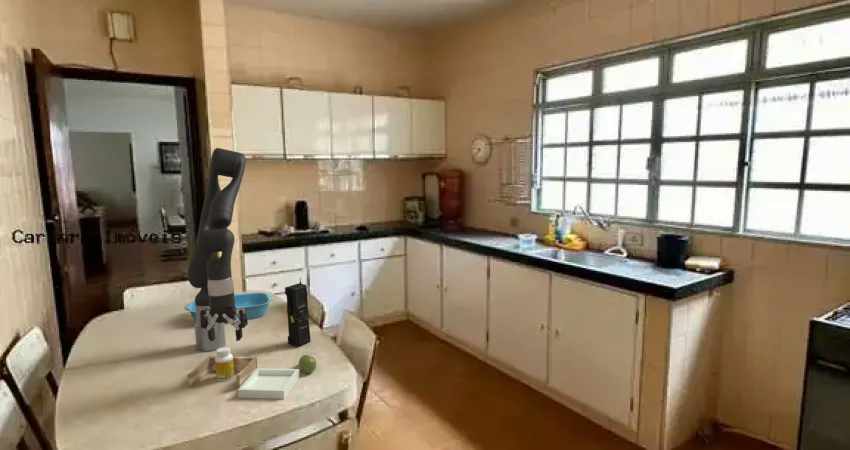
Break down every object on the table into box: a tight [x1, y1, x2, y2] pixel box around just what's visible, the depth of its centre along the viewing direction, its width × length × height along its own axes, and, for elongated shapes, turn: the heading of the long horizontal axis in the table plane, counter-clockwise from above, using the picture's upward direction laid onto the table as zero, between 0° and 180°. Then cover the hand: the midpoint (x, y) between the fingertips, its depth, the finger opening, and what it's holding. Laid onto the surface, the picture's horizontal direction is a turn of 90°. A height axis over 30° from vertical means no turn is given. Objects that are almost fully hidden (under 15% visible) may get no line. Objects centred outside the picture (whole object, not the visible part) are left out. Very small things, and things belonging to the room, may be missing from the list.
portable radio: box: [284, 278, 312, 348], centre depth 177 cm, size 8×6×25 cm
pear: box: [298, 354, 317, 374], centre depth 158 cm, size 6×5×10 cm
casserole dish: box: [184, 292, 274, 323], centre depth 211 cm, size 37×22×7 cm, turn 114°
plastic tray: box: [237, 367, 301, 400], centre depth 146 cm, size 14×14×2 cm
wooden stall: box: [187, 355, 258, 390], centre depth 152 cm, size 17×13×4 cm
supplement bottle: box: [215, 346, 235, 382], centre depth 152 cm, size 5×5×10 cm
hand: (225, 340), depth 151 cm, fingers open, 8 cm apart
